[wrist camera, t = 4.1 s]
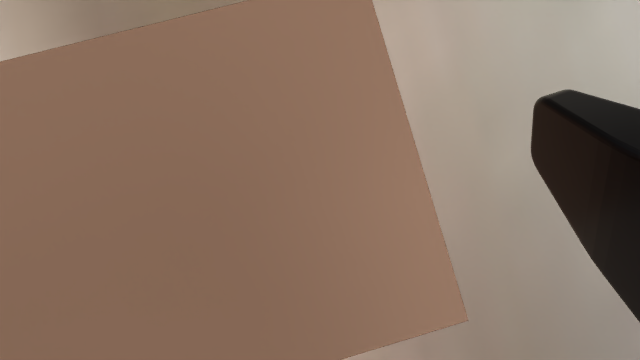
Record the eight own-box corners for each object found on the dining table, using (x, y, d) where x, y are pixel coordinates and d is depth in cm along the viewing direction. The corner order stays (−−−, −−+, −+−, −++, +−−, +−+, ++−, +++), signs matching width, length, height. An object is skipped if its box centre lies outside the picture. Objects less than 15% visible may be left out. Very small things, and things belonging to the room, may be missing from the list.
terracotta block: (315, 130, 16) (363, -28, 7) (356, 275, 16) (468, 320, 7) (129, 180, 16) (-92, 84, 6) (168, 331, 15) (-4, 465, 6)
